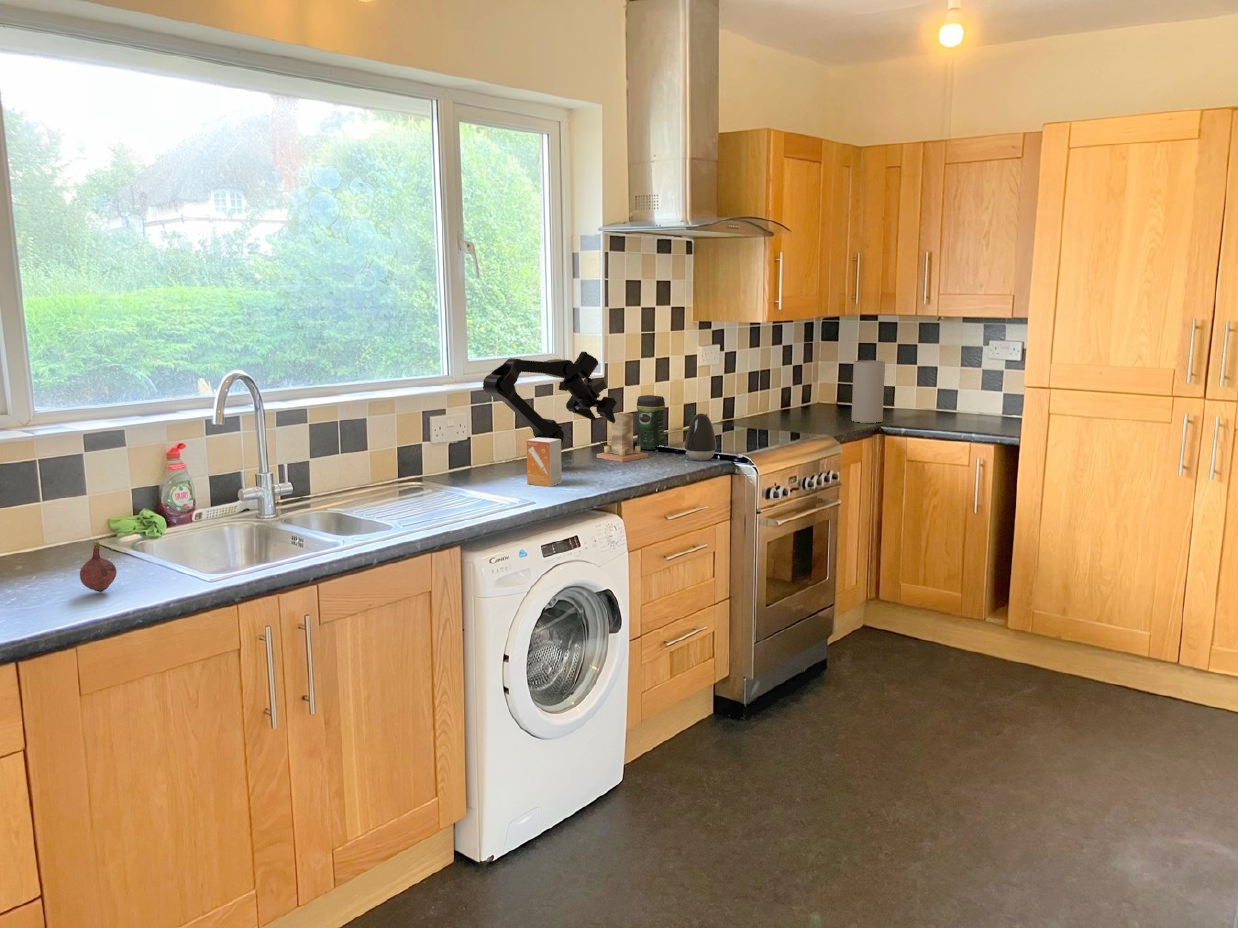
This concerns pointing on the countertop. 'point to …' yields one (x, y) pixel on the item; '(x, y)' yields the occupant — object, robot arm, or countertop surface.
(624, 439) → the maple block
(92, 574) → the vegetable
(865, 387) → the cylinder vase
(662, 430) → the coffee jar
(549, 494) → the countertop surface
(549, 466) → the small box
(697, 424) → the dark egg shaped diffuser
